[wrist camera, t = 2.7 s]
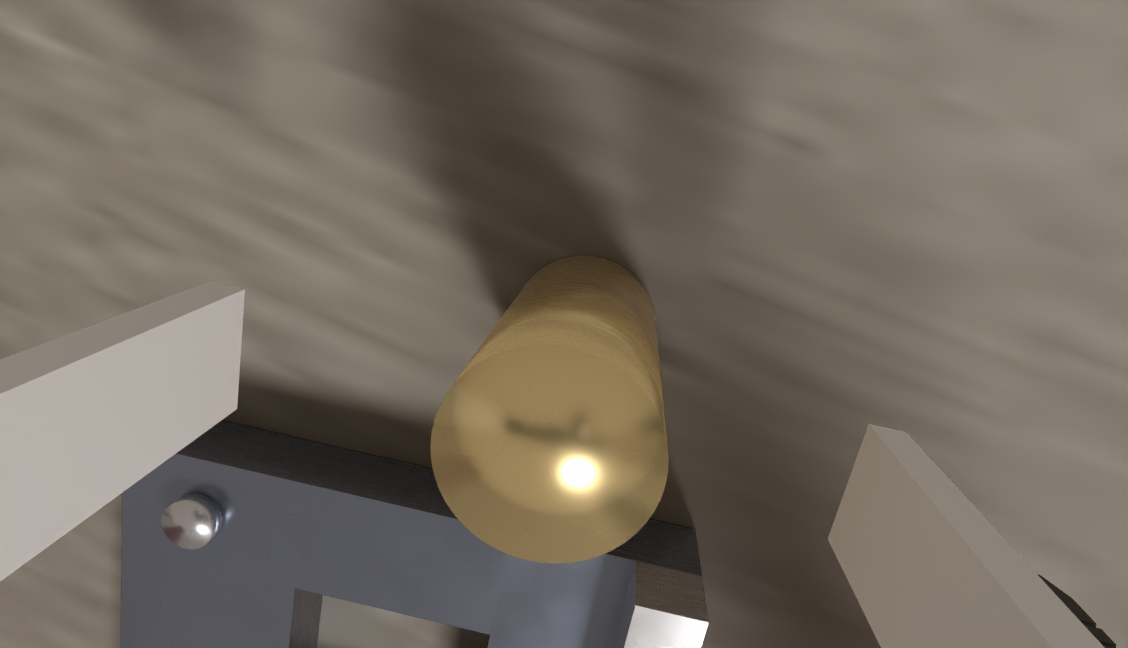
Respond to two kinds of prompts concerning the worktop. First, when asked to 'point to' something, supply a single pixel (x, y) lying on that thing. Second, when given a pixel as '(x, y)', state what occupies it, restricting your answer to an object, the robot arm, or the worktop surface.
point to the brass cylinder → (558, 418)
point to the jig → (368, 557)
